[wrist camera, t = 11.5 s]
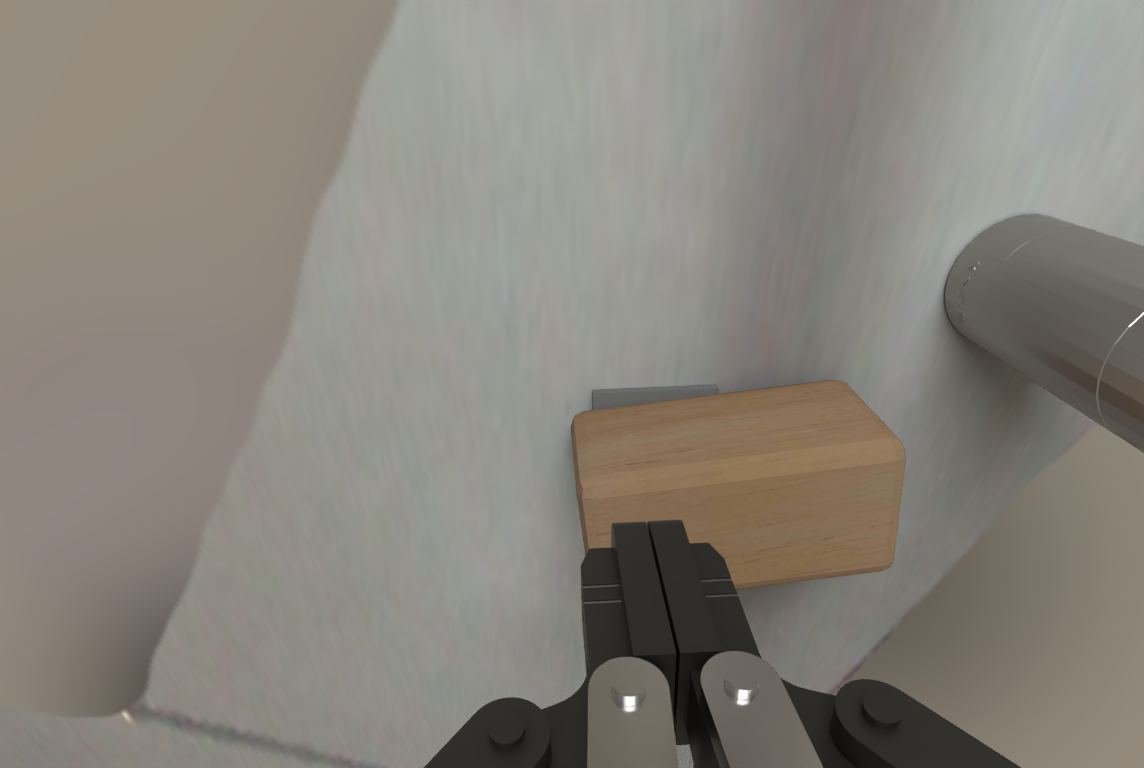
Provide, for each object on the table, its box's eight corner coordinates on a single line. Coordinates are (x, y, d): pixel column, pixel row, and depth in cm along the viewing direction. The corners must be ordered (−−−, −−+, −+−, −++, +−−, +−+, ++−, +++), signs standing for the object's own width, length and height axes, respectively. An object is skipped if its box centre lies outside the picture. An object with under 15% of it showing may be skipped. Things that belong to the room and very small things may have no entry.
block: (583, 518, 53) (836, 487, 52) (593, 613, 44) (898, 575, 43) (568, 407, 48) (844, 372, 48) (575, 487, 39) (915, 444, 39)
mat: (715, 384, 49) (717, 388, 48) (704, 528, 54) (706, 532, 54) (592, 389, 48) (592, 393, 48) (594, 533, 54) (595, 538, 54)
